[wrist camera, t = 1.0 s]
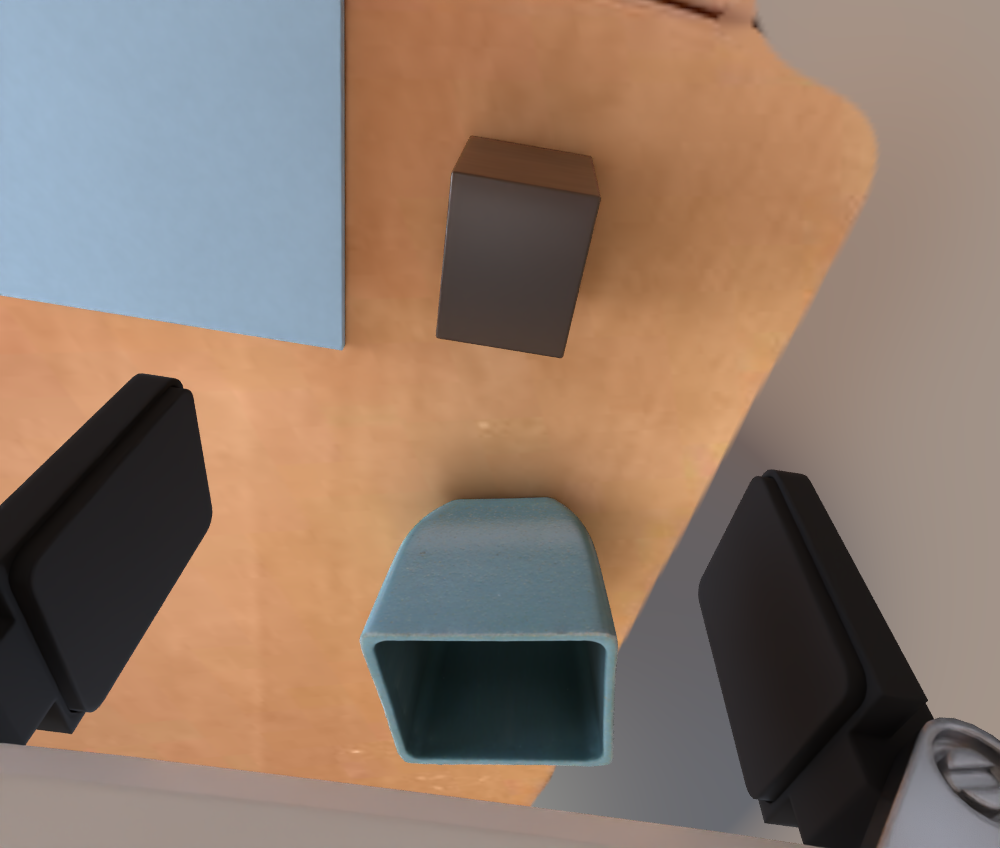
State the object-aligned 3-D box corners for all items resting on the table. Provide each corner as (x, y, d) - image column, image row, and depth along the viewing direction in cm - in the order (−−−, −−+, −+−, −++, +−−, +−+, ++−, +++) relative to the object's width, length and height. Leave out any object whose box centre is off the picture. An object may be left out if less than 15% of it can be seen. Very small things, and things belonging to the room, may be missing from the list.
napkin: (-239, -331, 15) (-257, -337, 15) (344, -220, 15) (340, -223, 15) (-12, 288, 24) (-19, 292, 24) (345, 346, 25) (342, 350, 24)
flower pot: (600, 460, 27) (619, 637, 20) (598, 591, 32) (613, 770, 25) (404, 465, 28) (354, 635, 21) (433, 592, 33) (400, 764, 26)
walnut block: (469, 135, 20) (451, 171, 16) (592, 156, 20) (601, 197, 16) (453, 280, 23) (434, 338, 19) (560, 298, 23) (562, 359, 19)
